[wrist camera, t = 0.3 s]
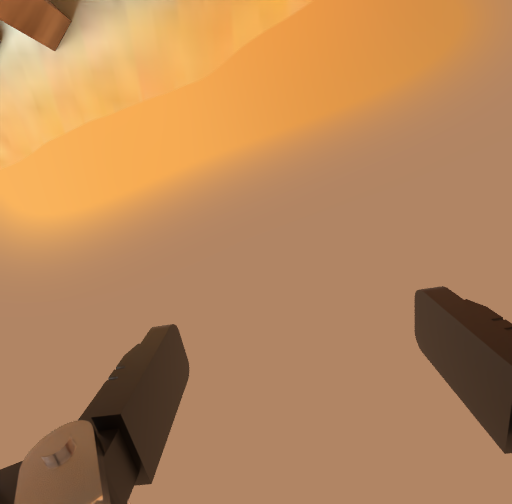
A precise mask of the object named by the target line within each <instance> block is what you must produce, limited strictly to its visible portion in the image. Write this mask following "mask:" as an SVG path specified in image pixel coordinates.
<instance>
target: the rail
mask: <svg viewBox="0 0 512 504" xmlns="http://www.w3.org/2000/svg"><path fill="white" fill-rule="evenodd" d="M0 20H2V21H3V22H5V23H7V24H8V25H10V26H12V27H14V28H15V29H17V30H19V31H21V32H22V33H24V34H26V35H28V36H29V37H31V38H33V39H35V40H36V41H38V42H40V43H41V44H43V45H45V46H47V47H48V48H50V49H52V50H54V51H55V50H56V48H57V46H58V44H59V43H60V41H61V39H62V37H63V35H64V34H65V32H66V30H67V28H68V27H69V25H70V23H71V21H70V20H69V19H68V18H67V17H66V16H65V15H64V14H63V13H62V12H61V11H60V10H59V9H58V8H56V7H55V6H54V5H53V4H52V3H51V2H50V1H49V0H0Z"/></svg>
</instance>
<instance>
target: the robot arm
mask: <svg viewBox="0 0 512 504" xmlns="http://www.w3.org/2000/svg"><path fill="white" fill-rule="evenodd" d="M415 336H416V340H417V343H418V345H419V348H420V349H421V351H422V352H423V353H424V355H425V356H426V357H427V358H428V360H429V361H430V362H431V363H432V365H433V366H434V367H435V368H436V370H437V371H438V372H439V373H440V374H441V376H442V377H443V378H444V379H445V381H446V382H447V383H448V384H449V386H450V387H451V388H452V389H453V391H454V392H455V393H456V394H457V395H458V397H459V398H460V399H461V400H462V401H463V403H464V404H465V405H466V407H467V408H468V409H469V410H470V411H471V413H472V414H473V415H474V416H475V418H476V419H477V420H478V421H479V422H480V424H481V425H482V426H483V427H484V429H485V430H486V431H487V432H488V433H489V435H490V436H491V437H492V438H493V440H494V441H495V442H496V444H497V445H498V446H499V447H500V448H501V449H502V451H503V452H504V453H505V454H506V453H512V324H511V323H510V322H509V321H507V320H503V317H501V316H499V315H498V314H497V313H495V312H493V311H492V310H490V309H489V308H488V307H486V306H483V305H480V304H477V303H475V302H472V301H470V300H467V299H466V300H463V299H462V298H460V297H459V296H458V295H456V294H455V293H453V292H452V291H451V290H449V289H448V288H446V287H443V286H442V287H435V288H428V289H421V290H417V291H416V293H415ZM188 376H189V363H188V359H187V356H186V353H185V349H184V346H183V343H182V340H181V336H180V333H179V330H178V328H177V326H176V325H174V324H172V325H165V326H158V327H152V328H151V329H150V331H149V332H148V333H147V335H146V336H145V338H144V339H143V341H142V342H141V344H137V345H136V346H135V347H134V348H133V349H131V350H130V351H129V352H128V353H127V354H126V355H125V356H124V357H123V358H122V360H121V361H120V363H119V364H118V365H117V367H116V370H114V371H113V372H112V374H111V375H110V376H109V380H107V381H106V382H105V383H104V385H103V386H102V388H101V389H100V390H99V392H98V393H97V395H96V396H95V397H94V399H93V400H92V402H91V403H90V404H89V406H88V407H87V409H86V410H85V411H84V413H83V414H82V415H81V417H80V418H79V420H78V421H74V422H70V423H67V424H65V425H63V426H61V427H59V428H57V429H55V430H54V431H52V432H51V433H49V434H48V435H46V436H45V437H44V438H43V439H42V440H40V441H39V442H38V443H37V444H36V445H35V446H34V447H33V448H32V450H31V451H30V452H29V453H28V454H27V456H26V457H25V459H24V460H23V461H21V462H19V463H16V464H14V465H11V466H9V467H6V468H3V469H1V470H0V504H131V503H130V501H129V497H130V494H131V492H132V489H133V487H134V485H145V484H151V483H152V481H153V478H154V475H155V472H156V469H157V466H158V464H159V461H160V458H161V455H162V452H163V449H164V446H165V444H166V441H167V438H168V435H169V432H170V429H171V427H172V424H173V421H174V418H175V415H176V412H177V410H178V406H179V404H180V401H181V398H182V395H183V392H184V389H185V387H186V384H187V381H188Z"/></svg>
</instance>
